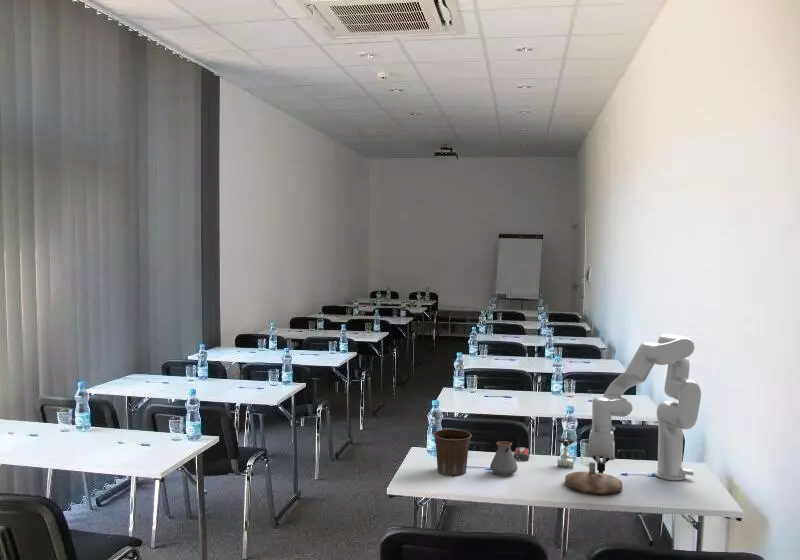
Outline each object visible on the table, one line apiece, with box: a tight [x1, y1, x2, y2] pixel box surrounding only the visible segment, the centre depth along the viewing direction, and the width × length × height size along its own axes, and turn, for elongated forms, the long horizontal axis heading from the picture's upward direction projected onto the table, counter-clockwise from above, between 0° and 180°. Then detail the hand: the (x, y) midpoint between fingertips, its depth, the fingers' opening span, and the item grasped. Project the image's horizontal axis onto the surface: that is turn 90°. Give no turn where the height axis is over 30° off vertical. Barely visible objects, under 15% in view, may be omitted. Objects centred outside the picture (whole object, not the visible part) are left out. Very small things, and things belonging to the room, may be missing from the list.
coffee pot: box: [490, 440, 518, 477], centre depth 272 cm, size 21×12×15 cm, turn 176°
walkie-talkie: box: [512, 446, 530, 462], centre depth 298 cm, size 9×4×20 cm
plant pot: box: [433, 428, 472, 477], centre depth 277 cm, size 16×16×16 cm
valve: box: [557, 437, 575, 468], centre depth 287 cm, size 7×7×12 cm
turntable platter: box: [564, 461, 623, 495], centre depth 262 cm, size 22×22×6 cm
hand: (601, 472), depth 269 cm, fingers closed
